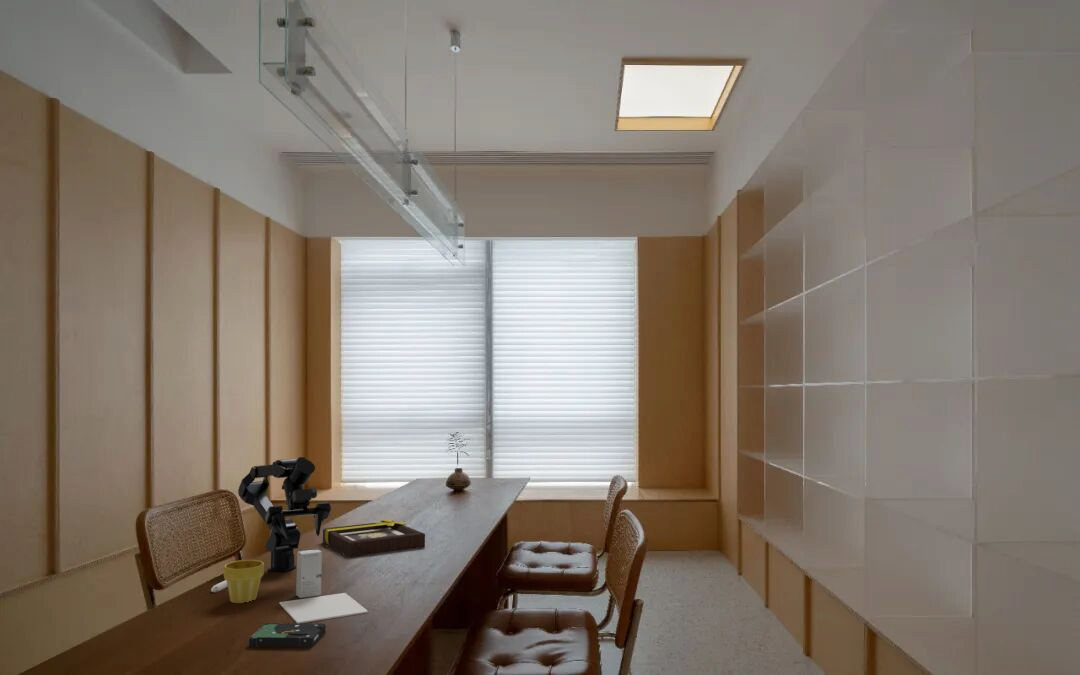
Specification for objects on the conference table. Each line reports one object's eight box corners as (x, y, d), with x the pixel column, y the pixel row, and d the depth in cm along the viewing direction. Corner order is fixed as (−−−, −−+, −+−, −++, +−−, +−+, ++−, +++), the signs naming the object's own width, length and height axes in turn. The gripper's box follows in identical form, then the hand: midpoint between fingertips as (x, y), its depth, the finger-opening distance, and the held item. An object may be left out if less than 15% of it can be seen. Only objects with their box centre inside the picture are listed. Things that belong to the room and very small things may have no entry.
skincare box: (300, 598, 214) (300, 554, 215) (295, 594, 218) (296, 551, 218) (322, 595, 217) (322, 551, 218) (317, 591, 221) (317, 548, 222)
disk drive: (325, 635, 186) (264, 634, 186) (326, 623, 186) (264, 622, 186) (312, 650, 175) (247, 649, 176) (313, 637, 176) (247, 636, 176)
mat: (279, 603, 209) (279, 602, 209) (345, 594, 218) (345, 592, 218) (297, 623, 192) (297, 622, 192) (368, 612, 201) (368, 611, 201)
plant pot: (259, 604, 209) (260, 567, 209) (219, 606, 207) (219, 569, 207) (266, 593, 219) (267, 558, 219) (228, 595, 217) (228, 560, 218)
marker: (214, 594, 219) (214, 586, 219) (207, 594, 219) (208, 586, 219) (247, 578, 237) (247, 570, 237) (241, 578, 237) (241, 570, 237)
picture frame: (321, 525, 287) (396, 517, 304) (321, 543, 287) (396, 534, 304) (348, 539, 264) (428, 529, 281) (348, 559, 264) (428, 548, 280)
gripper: (269, 479, 232) (276, 524, 223) (330, 476, 242) (340, 519, 233) (262, 501, 239) (269, 545, 229) (322, 497, 249) (331, 539, 239)
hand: (303, 536), depth 233 cm, fingers open, 9 cm apart
